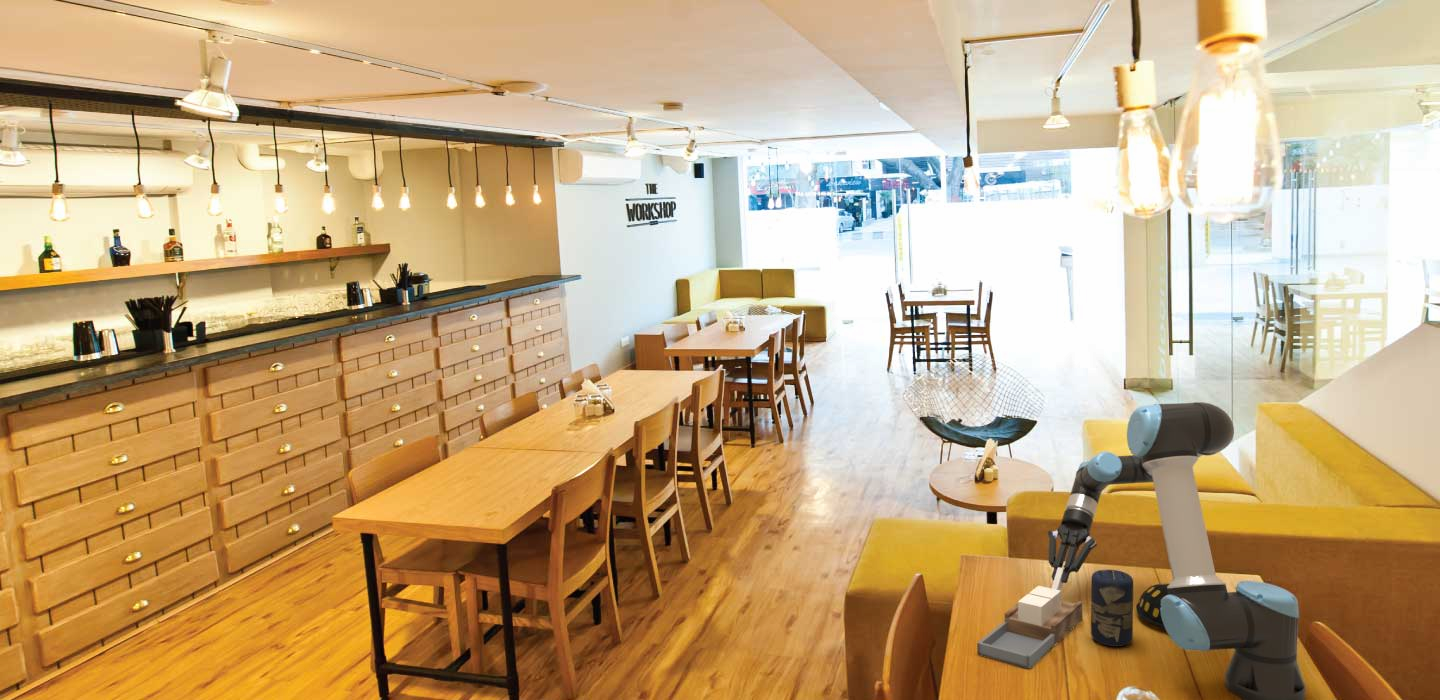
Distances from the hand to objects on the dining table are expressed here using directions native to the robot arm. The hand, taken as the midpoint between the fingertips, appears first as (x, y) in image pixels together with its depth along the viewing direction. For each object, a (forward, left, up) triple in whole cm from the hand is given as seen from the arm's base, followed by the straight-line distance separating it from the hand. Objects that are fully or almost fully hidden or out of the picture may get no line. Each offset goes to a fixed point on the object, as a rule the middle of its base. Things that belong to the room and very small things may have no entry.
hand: (1055, 592), depth 245 cm
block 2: (-6, +3, -3) cm, 8 cm away
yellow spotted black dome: (-1, -28, -7) cm, 29 cm away
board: (-7, +4, -7) cm, 10 cm away
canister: (-14, -11, -7) cm, 19 cm away
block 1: (-12, +7, -3) cm, 14 cm away
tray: (-21, +12, -7) cm, 26 cm away
